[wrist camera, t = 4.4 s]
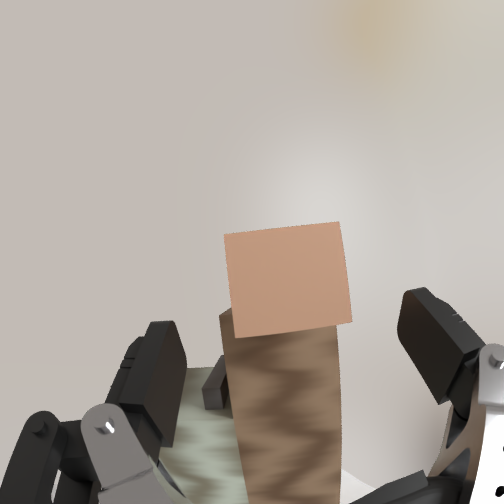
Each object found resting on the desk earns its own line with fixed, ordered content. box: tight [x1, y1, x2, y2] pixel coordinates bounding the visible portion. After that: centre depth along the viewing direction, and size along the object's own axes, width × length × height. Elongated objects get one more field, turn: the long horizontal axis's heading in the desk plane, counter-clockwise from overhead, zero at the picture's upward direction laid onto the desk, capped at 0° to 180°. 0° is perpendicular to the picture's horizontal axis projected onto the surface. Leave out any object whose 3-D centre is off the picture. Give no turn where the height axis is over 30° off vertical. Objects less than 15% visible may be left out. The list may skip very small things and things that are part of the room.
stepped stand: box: [159, 307, 342, 504], centre depth 25 cm, size 20×16×32 cm
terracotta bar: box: [224, 222, 352, 338], centre depth 22 cm, size 4×26×4 cm, turn 178°
